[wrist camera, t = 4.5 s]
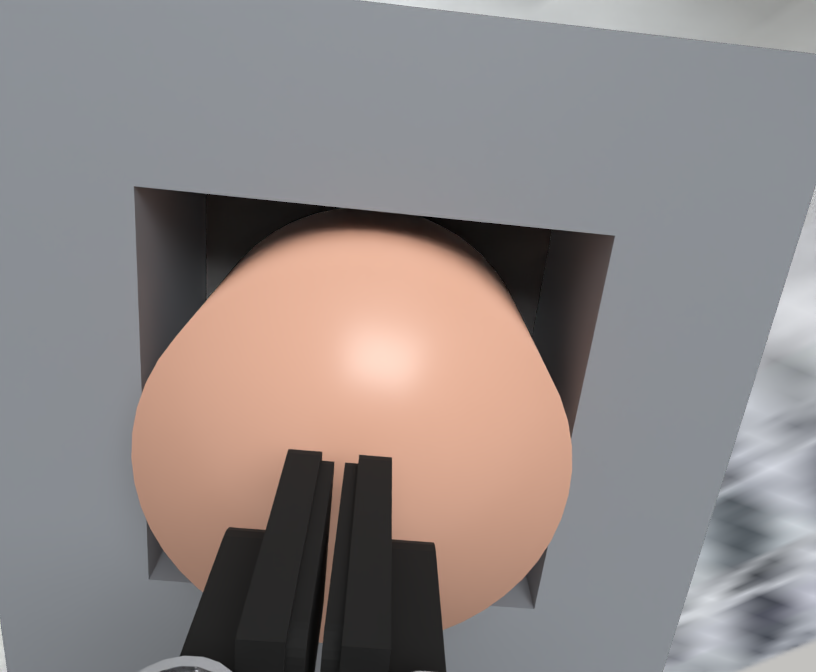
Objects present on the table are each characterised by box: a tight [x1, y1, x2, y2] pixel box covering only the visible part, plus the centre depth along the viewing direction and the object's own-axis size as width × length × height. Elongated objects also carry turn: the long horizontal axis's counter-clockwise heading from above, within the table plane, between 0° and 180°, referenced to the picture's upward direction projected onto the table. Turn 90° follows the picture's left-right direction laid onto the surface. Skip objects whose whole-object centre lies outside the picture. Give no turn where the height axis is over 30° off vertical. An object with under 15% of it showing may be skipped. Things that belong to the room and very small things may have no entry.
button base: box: [0, 0, 816, 672], centre depth 17 cm, size 16×16×5 cm
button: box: [131, 208, 572, 643], centre depth 15 cm, size 8×8×5 cm
